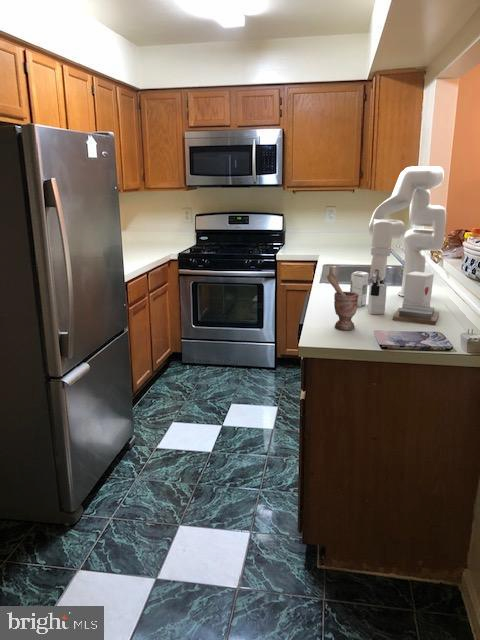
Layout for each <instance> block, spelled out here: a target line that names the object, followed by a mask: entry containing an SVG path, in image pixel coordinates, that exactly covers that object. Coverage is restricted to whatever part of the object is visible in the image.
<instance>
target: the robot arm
mask: <svg viewBox="0 0 480 640" xmlns="http://www.w3.org/2000/svg"><path fill="white" fill-rule="evenodd" d="M444 177H445V172H444V169H443V167H441V166H437V165H436V166H434V165H433V166H430V165H429V166H428V165H426V166H424V165H423V166H422V165H417V166H408V167H405V168H404V170H402V171H401V172H400V174H399V176H398V178H397V181H396V183H395V186H394V189H393V191H392V193H391V196H390V197H389V198H387V199H386V200H384V201H382V203H380V204H379V206H377V207H376V208H375V210H374V211H373V213H372V216H371V218H370V220H369V224H368V225H369V226H368V233H369V235H370V236H372V237H371V238H372V239H371V248H370V249H371V250H370V256H372V258H371V264H370V270H369V271H370V273H369V280H370V281H371V284H372V286H371V295H372V296H379V289H380V286H379V284H384V285H385V278H386V275H387V273H386V272H387V266H388V265H387V263H388V257H390V256H391V250H392V241H393V240H392V239H399V238H402V237H403V235H404V237H403V241H404V261H403V272H402V282H401V290H399V291H398V292H397V295H398V296H399V295H400V297H402V296H404V287H405V278H406V274H407V273H411V272H423V273H425V270H426V262H427V261H426V256H425V254H424V253H423V251H430V252H439V251H441V250H442V249H443V247H444V244H445V243H444V242H445V237H446V236H445V235H446V224H447V210H446V209H445V207H444V206H441V205H437V204H436V205H435V204H434V205H432V204H431V192H430V190H433V189H436V188H438V187H440V186H441V184H443V181H444ZM408 207H409V216H408V217H409V218H408V219H409V223H410V224H411V225H412V226H416V227H429V228H432V229H428V228H427V229H426V228H411V229H410V228H409V230H407V231H406V225H405V223H404V221H402V220H400V219H392V218H391V219H390V218H385V217H387V216H389V215H390V214H392V213H397V212H398V211H399V212H400V211H401V210H404V209H406V208H408Z"/></svg>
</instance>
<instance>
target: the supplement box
mask: <svg viewBox="0 0 480 640" xmlns="http://www.w3.org/2000/svg"><path fill="white" fill-rule="evenodd" d="M433 282H434V273H430V272H429V273H428V272H424V273H423V272H411V273H407V274H406V278H405V287H404V297H403V298H402V306H403V305H413V306H423V307H431V302H432V301H431V300H432V292H433Z"/></svg>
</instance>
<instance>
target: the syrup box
mask: <svg viewBox="0 0 480 640" xmlns="http://www.w3.org/2000/svg"><path fill="white" fill-rule="evenodd" d="M369 276H370V273H369V272H366V271H354V272H352V273H351V275H350V277H351V278H350V285H349V287H350V288H349V292H354V293H357V294H358V304H357V307H359V308H361V307H364V306H365V305H366V304H367V295H368V285H369Z"/></svg>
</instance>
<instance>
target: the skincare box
mask: <svg viewBox="0 0 480 640" xmlns="http://www.w3.org/2000/svg"><path fill="white" fill-rule="evenodd" d="M368 285H369V287H368V303H367V312H368V313H369V314H370V315H385V312H386V300H387V299H386V298H387V288H388V287H387V284H385V283H384V284H379V286H380V289H379V296H372V295H371V286H372V283H368Z"/></svg>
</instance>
